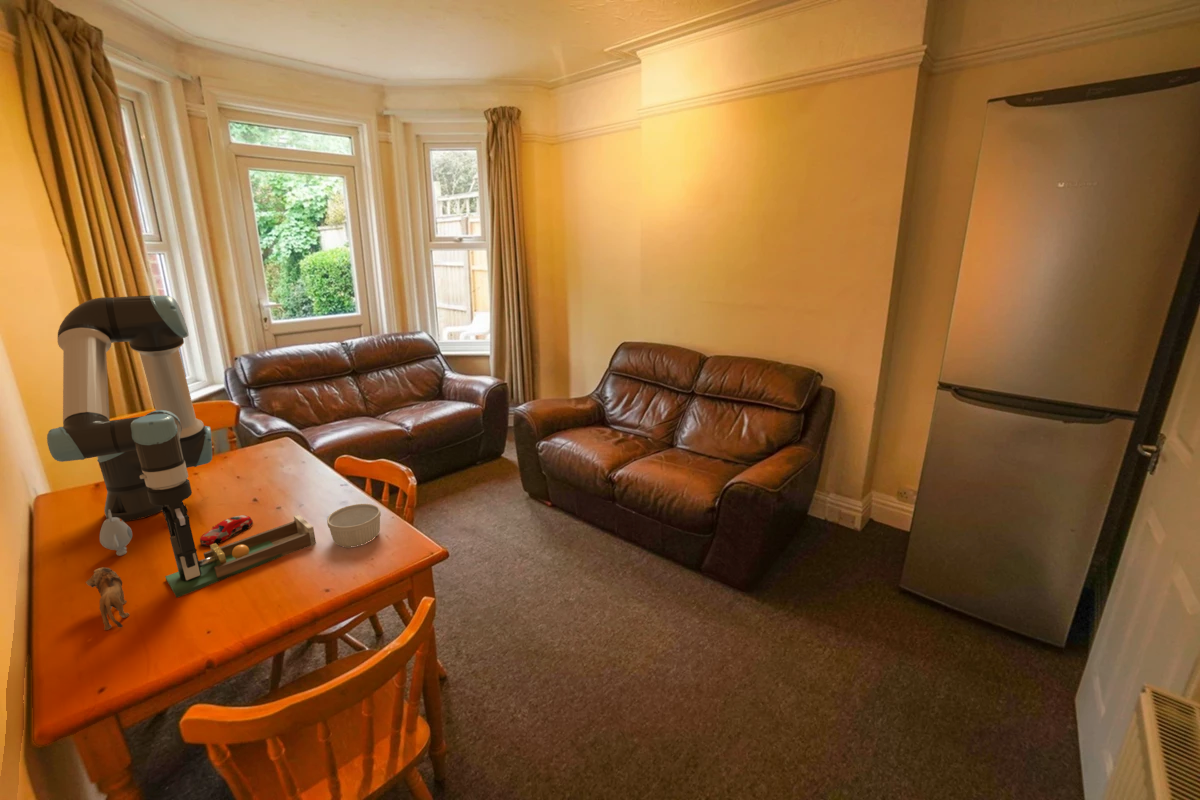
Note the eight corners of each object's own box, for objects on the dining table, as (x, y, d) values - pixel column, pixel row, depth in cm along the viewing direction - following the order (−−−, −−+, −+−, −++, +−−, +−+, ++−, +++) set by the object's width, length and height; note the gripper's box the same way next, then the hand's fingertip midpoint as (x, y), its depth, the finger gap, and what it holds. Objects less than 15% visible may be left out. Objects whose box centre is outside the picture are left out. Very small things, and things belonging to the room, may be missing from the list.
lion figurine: (92, 606, 117) (81, 570, 115) (123, 594, 121) (113, 559, 119) (106, 636, 108) (94, 598, 106) (139, 622, 112) (129, 585, 110)
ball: (231, 558, 133) (228, 545, 132) (247, 552, 136) (245, 540, 135) (236, 564, 131) (233, 551, 130) (252, 557, 133) (249, 545, 132)
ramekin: (322, 537, 145) (318, 515, 143) (370, 520, 154) (367, 498, 152) (342, 556, 136) (339, 532, 134) (391, 536, 145) (388, 514, 143)
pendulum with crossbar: (177, 573, 126) (166, 533, 123) (219, 558, 132) (210, 519, 129) (184, 586, 122) (173, 544, 119) (228, 569, 128) (218, 529, 125)
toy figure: (137, 557, 135) (125, 515, 132) (104, 566, 131) (91, 523, 128) (136, 540, 143) (125, 500, 139) (105, 548, 139) (93, 507, 135)
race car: (209, 550, 139) (206, 536, 138) (195, 545, 141) (192, 532, 140) (257, 526, 151) (254, 513, 150) (243, 522, 153) (241, 509, 152)
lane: (166, 579, 126) (161, 561, 125) (301, 530, 148) (298, 514, 147) (176, 597, 120) (171, 578, 118) (316, 543, 142) (313, 526, 140)
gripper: (138, 477, 121) (162, 566, 128) (155, 500, 111) (180, 596, 117) (178, 467, 127) (199, 553, 133) (198, 488, 116) (219, 580, 123)
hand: (190, 572), depth 125 cm, fingers closed on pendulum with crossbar, 4 cm apart
